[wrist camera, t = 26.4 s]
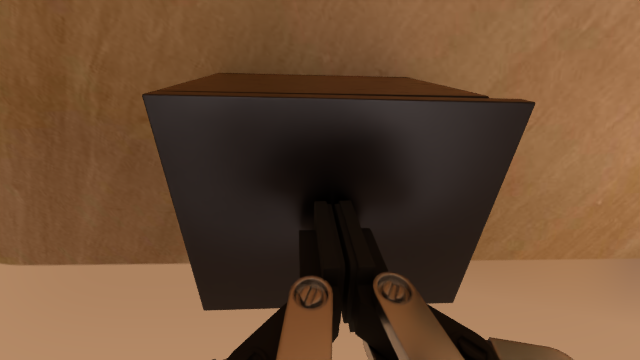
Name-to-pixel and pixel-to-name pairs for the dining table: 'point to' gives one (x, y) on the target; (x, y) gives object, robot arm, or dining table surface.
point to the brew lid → (330, 182)
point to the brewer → (319, 85)
